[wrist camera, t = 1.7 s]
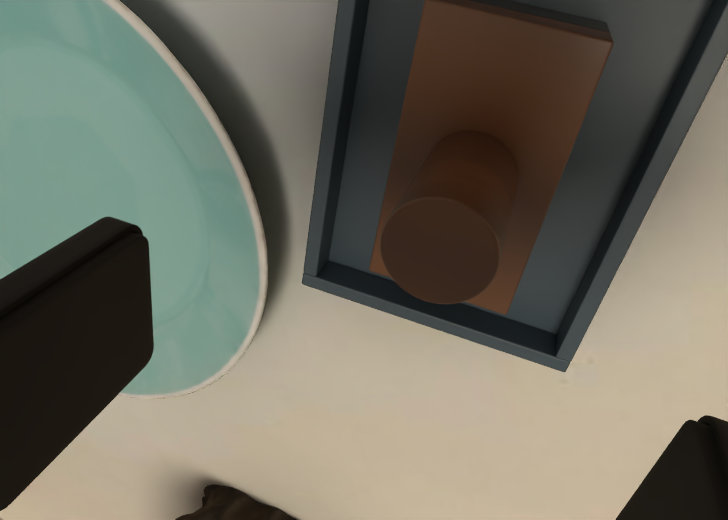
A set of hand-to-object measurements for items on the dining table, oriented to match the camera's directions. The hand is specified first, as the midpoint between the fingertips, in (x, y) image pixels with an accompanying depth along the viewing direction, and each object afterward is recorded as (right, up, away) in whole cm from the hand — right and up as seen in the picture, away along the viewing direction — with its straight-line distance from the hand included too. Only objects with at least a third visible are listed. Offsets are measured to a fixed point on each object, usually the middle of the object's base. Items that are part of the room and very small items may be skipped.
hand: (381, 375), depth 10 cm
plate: (-14, +5, +18) cm, 24 cm away
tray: (+4, +6, +11) cm, 13 cm away
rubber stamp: (+4, +6, +10) cm, 13 cm away
